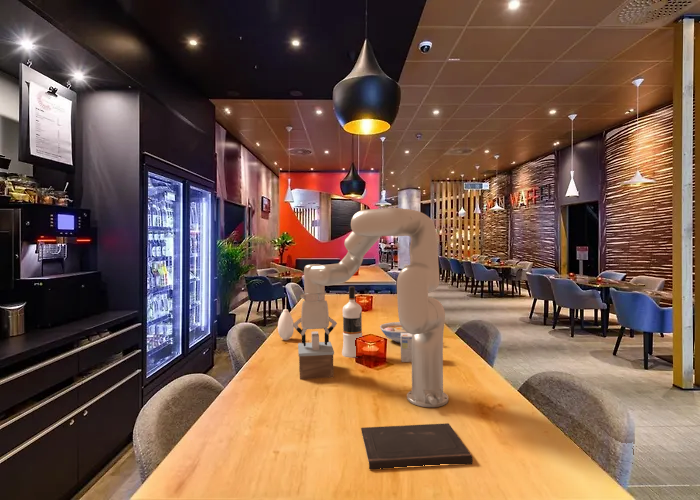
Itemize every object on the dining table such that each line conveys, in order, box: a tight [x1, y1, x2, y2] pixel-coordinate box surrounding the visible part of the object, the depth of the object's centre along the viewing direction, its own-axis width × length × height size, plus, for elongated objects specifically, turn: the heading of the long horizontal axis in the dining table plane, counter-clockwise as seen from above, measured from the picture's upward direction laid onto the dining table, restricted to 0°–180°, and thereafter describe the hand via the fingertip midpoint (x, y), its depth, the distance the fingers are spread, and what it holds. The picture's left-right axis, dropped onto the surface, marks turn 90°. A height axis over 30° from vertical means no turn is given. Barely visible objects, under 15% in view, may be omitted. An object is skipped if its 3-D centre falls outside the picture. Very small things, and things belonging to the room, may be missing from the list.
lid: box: [297, 330, 335, 357], centre depth 147 cm, size 15×13×7 cm
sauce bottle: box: [277, 304, 295, 341], centre depth 199 cm, size 8×8×18 cm
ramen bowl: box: [379, 321, 408, 344], centre depth 193 cm, size 25×23×8 cm
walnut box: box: [298, 355, 335, 380], centre depth 147 cm, size 14×12×9 cm
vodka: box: [341, 286, 363, 358], centre depth 169 cm, size 9×9×30 cm
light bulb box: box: [400, 333, 412, 363], centre depth 163 cm, size 11×7×11 cm, turn 84°
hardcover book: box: [360, 422, 473, 470], centre depth 94 cm, size 16×23×2 cm
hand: (315, 344), depth 147 cm, fingers open, 7 cm apart
